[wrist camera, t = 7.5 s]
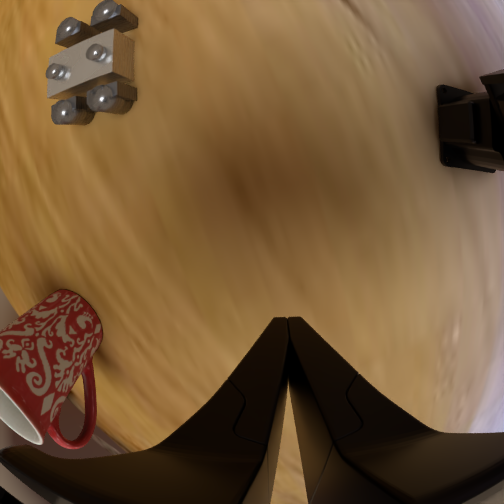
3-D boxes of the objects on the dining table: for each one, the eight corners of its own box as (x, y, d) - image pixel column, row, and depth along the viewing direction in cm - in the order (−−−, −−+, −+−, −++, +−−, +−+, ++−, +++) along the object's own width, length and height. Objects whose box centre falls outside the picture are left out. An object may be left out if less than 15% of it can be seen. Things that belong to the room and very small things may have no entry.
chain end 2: (138, 10, 14) (119, -6, 11) (137, 110, 17) (114, 105, 14) (111, 20, 14) (90, 6, 11) (109, 118, 17) (83, 115, 14)
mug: (32, 296, 24) (-44, 365, 11) (73, 265, 22) (-28, 350, 9) (96, 381, 28) (48, 464, 15) (147, 369, 26) (98, 477, 13)
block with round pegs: (135, 42, 15) (108, 24, 11) (135, 81, 17) (106, 69, 13) (74, 65, 16) (42, 56, 12) (73, 101, 17) (40, 97, 13)
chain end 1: (101, 24, 14) (79, 11, 11) (98, 120, 18) (72, 119, 14) (77, 34, 15) (54, 24, 11) (75, 128, 18) (48, 128, 15)
